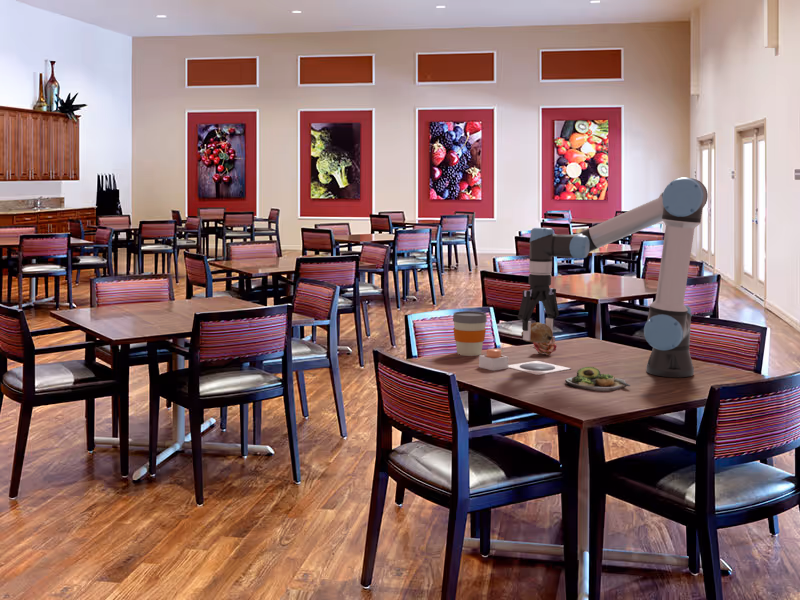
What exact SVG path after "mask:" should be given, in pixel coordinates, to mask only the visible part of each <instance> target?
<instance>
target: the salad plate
mask: <svg viewBox="0 0 800 600" xmlns="http://www.w3.org/2000/svg"><path fill="white" fill-rule="evenodd" d="M564 382H565V384H566V385H567V386H569V387H573V388H576V389H577V388H578V389H581V390H589V391H597V392H611V391H613V392H614V391H617V390H621V389H622V388H624V387H631V384H629V383H626V380H625V379H622V378H616V377H615V376H614V375H611V374H609V373H607V374H605V373H601V372H600V369H598V368H596V367H594V366H585V367H581V368H579V369H577V372H576V376H572V377H567V378H565V380H564Z"/></svg>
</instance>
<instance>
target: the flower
mask: <svg viewBox="0 0 800 600" xmlns="http://www.w3.org/2000/svg"><path fill="white" fill-rule="evenodd" d="M555 342H556V336H554V335H553V338H552V340H551V341H549V342H547V343H546V342H545V343H537V342H532V343H533V346H534V347H533V346H529V347H530V348H533V349H534V350H535V351H537V353H538V354H537V355H543V354H544V355H545V354H547V355H548V356H551V354H552V353H553V352H556V350H557V344H556V343H555Z"/></svg>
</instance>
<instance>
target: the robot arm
mask: <svg viewBox="0 0 800 600" xmlns="http://www.w3.org/2000/svg"><path fill="white" fill-rule="evenodd" d="M708 193H709V192H708V190H707V187H706V186H705V184H703V182H702V181H700V180H699V179H696V178H691V177H686V176H685V177H678V178H675V179H673V180H671V182H669V183H668V184H667V185H666V186H665V188H664V189H663V192H661V193H660V194H659V196H658V197H657V198H655V199H652V200H650V201H647V202H645V203H643V204H642V205H639V206H637V207H635V208H632V209H630V210H628V211H626V212H624V213H621V214H619V215H616V216H614V217H611V218H610V219H607V220H604V221H603V222H601V223H598V224H595V225H593V226H591V227H590V228H587V229H585V230H582V231H580V232H577V233H574V234H573V233H572V234H556V233H554V230H553V228H551V227H533V228H532V229H531V230H530V236H529V237H530V238H529V265H528V266H529V267H528V271H529V272H528V273H529V274H528V285H529V289H528V290H526V289H523V290H522V298H521V302H520V306H519V310H518V315H517V319H518V320H520V321H521V322H522V332H523V338H522V340H523V341H525V340H527V341H526V342H528V341H530V334H531V324H532V321H530V319H531V317H532V314H533V313H534V311H535V308H536V306H537V304H538V303H540V302H541V304H542V305H543V308H544V311H545V314H546V315H547V316H546V318H545V324H546V325H547V326H549V327H550V329H551V330H552V333H553V332H554V327H555V319H557V318H558V317H559V315H560V312H559V307H558V300H557V289H556V288H552V287H550V286H552V274H551V273H552V270H553V269H552V268H553V257H554V258H556V257H557V258H571V259H572V258H573V259H586V258H587V257H588V255H589V254H590V252H593V251H595V250H597V249H600V248H602V247H604V246H607V245H609V244H611V243H614V242H616V241H618V240H621V239H623V238H626V237H629V236H630V235H632V234H635V233H637V232H640V231H642V230H644V229H647V228H649V227H652V226H654V225H656V224H658V223H661V222H663V223H664V224H665V225H664V226H665V230H664V236H663V244H662V251H661V258H660V266H659V273H658V280H657V286H656V293H655V300H654V301H652V302H651V303H650V304H649V308H648V316H647V320H646V323H645V324H644V327H643V334H644V336H643V337H644V339H645V341H646V342H647V343H648V345H649V346H651V347H652V350H651V353H650V355H649V358H648V361H647V363H646V369H645V370H646V373H648V374H650V375H653V376H657V377H658V376H659V377H665V378H688V377H692V376H694V371H695V369H694V364H693V360H692V358H691V353H690V343H691V342H690V341H691V323H692V320H691V319H692V316H693V314H692V309H691V307H690V306H688V305H685V304H684V302H685V297H686V291H687V283H688V282H687V281H688V275H689V269H690V262H691V254H692V249H693V240H694V233H695V229H696V227H698V226H699V225H700V224H701V223H702V222H701V221H702V215H703V208H705V206H706V204H707V202H708V197H709V196H708ZM553 334H554V333H553Z"/></svg>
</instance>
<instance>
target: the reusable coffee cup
mask: <svg viewBox="0 0 800 600" xmlns="http://www.w3.org/2000/svg"><path fill="white" fill-rule="evenodd" d="M487 321H488V318H487V313H486V312H481V311H472V310H471V311H470V310H469V311H467V310H465V311H455V312H453V317H452V322H453V336H454V337H453V339H454V341H455V346H456V347H455V348H456V354H457V355H459V354H460V356H466V357H473V356H475V357H477V356H480V355H482V351H483V345H484V341H485V338H486V331H487V328H486V325H487Z"/></svg>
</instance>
